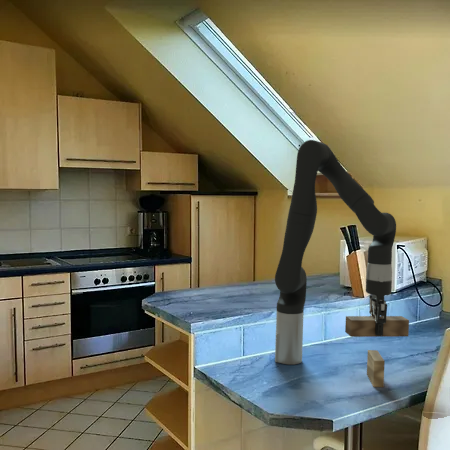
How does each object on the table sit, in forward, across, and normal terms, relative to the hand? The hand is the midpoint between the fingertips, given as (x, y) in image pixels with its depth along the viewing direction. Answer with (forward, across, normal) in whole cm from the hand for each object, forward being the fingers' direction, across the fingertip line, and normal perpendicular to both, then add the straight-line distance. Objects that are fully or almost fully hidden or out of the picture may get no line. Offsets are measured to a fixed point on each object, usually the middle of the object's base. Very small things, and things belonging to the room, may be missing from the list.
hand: (376, 332), depth 148 cm
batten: (+1, 0, 0) cm, 1 cm away
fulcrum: (+15, 0, 0) cm, 15 cm away
